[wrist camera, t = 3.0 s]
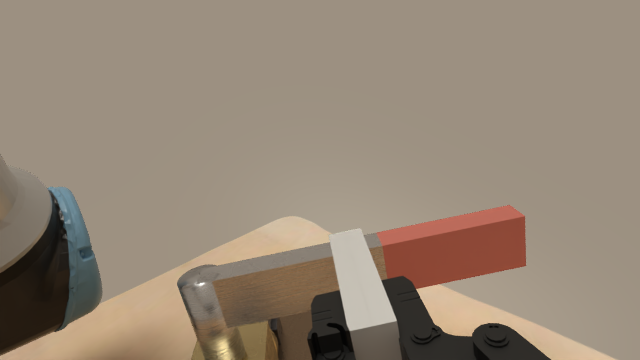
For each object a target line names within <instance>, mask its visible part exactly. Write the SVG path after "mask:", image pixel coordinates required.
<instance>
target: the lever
mask: <svg viewBox="0 0 640 360" xmlns="http://www.w3.org/2000/svg"><path fill="white" fill-rule="evenodd" d="M364 238H365V241H366V243H367V246H368V248H369V251H370V253H371V256H372V258H373V261H374V263H375V266H376V269H377V271H378V274H379V276H380V279H381V280H385V279H389V278H394V277H399V276H404V277H406V278H407V279H409V280H410V281H412V283H413V284H414V286H415V288H416V289H418V288H423V287H427V286H432V285H437V284H442V283H447V282H451V281H455V280H461V279H466V278H471V277H475V276H480V275H485V274H489V273H494V272H499V271H504V270H509V269H514V268H518V267H523V266H526V245H525V216H524V215H523V214H521V213H520V212H518V211H517V210H516V209H514V208H513V207H512V206H510V205H507V206H503V207H498V208H493V209H488V210H483V211H479V212H474V213H470V214H464V215H460V216H455V217H450V218H445V219H440V220H435V221H430V222H426V223H421V224H416V225H411V226H407V227H401V228H397V229H392V230H387V231H382V232H377V233H373V234H368V235H364ZM177 285H178V288H179V291H180V294H181V296H182V299H183V302H184V304H185V307H186V310H187V313H188V315H189V318H190V321H191V324H192V326H193V329H194V332H195V334H196V337H197V340H198V343H199V345H200V348H201V351H202V353H203V356H204V359H205V360H242V358H243V357H244V355H245V346H244V343H243V340H242V337H241V334H240V331H239V328H238V326H241V325H245V324H250V323H255V322H260V321H264V320H269V319H274V318H279V317H284V316H288V315H293V314H298V313H303V312H308V311H311V303H312V301H313V299H314V297H315V295H319V294H324V293H329V292H333V291H338V290H340V288H339V284H338V279H337V274H336V269H335V264H334V259H333V254H332V250H331V245H330V242H329V243H324V244H320V245H315V246H310V247H305V248H300V249H295V250H291V251H286V252H281V253H276V254H271V255H267V256H262V257H257V258H252V259H247V260H242V261H238V262H233V263H228V264H223V265H218V266H216V265H203V266H199V267H196V268H193V269H191V270H189V271H188V272H186V273H185V274H183V275H182V276H181V277H180V278H179V280H178V282H177Z"/></svg>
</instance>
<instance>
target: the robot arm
mask: <svg viewBox="0 0 640 360" xmlns="http://www.w3.org/2000/svg"><path fill="white" fill-rule="evenodd" d="M329 240H330V245H331V250H332V254H333V259H334V264H335V269H336V274H337V279H338V284H339V288H340V290H338V291H333V292H329V293H324V294H319V295H315V297H314V299H313V301H312V303H311V314H312V329H311V330H310V332H309V333H308V337H307V341H308V345H309V349H310V353H311V356H312V360H551V359H550V358H548V357H547V356H546V355H545V354H543V353H542V352H541V351H540V350H538V349H537V348H536V347H535V346H533V345H532V344H531V343H530V342H528V341H527V340H526V339H525V338H523V337H522V336H521V335H520V334H518V333H517V332H516V331H515V330H513V329H511V328H510V327H508V326H505V325H502V324H498V323H488V324H484V325H481V326H479V327H478V328H476V329H475V330H474V332H473V334H472V337H470V336H454V335H450V334H447V333H445V332H443V331H442V329H441V328H440V327H439V326H437V325H435V324H434V323H433V321H432V319H431V317H430V315H429V313H428V311H427V309H426V307H425V306H424V304H423V302H422V300H421V299H420V296H419V294H418V292H417V290H416V288H415V286H414V284H413V283H412V281H410V280H409V279H407V278H406V277H404V276H399V277H394V278H389V279H385V280H381V279H380V276H379V274H378V271H377V269H376V266H375V263H374V261H373V258H372V256H371V253H370V251H369V248H368V246H367V243H366V241H365V238H364V235H363V233H362V230H361V228H358V229H354V230H349V231H344V232H339V233H335V234H330V235H329ZM91 249H92V246H91V243H90V238H89V234H88V231H87V228H86V226H85V222H84V220H83V217H82V214H81V212H80V209H79V207H78V204H77V202H76V200H75V197H74V196H73V194H72V192H71V191H70V190H69V189H68V188H65V187H57V188H54V187H49V188H46V186H45V185H44V184H43V183H42V182H41V181H40V180H39V179H38V177H36V176H35V175H33V174H31V173H30V172H27V171H25V170H22V169H20V168H16V167H12V166H7V165H6V163H5V161H4V160H3V158H2V156H1V154H0V356H1V355H3V354H5V353H8V352H10V351H12V350H14V349H16V348H19V347H21V346H23V345H25V344H27V343H30V342H32V341H34V340H36V339H39V338H41V337H43V336H45V335H47V334H50V333H52V332H57V331H59V330H62V329H64V328H65V327H66V326H67V325H68V324H69V323H71V322H73V321H75V320H77V319H79V318H81V317H83V316H84V315H86V314H88V313H90V312H92V311H93V310H94V309H95V308H96V307H97V306H98V305H99V303H100V301H101V298H102V283H101V278H100V273H99V269H98V265H97V262H96V258H95V255H94V253H93V251H92V250H91Z"/></svg>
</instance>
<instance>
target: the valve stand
mask: <svg viewBox="0 0 640 360" xmlns="http://www.w3.org/2000/svg"><path fill="white" fill-rule="evenodd" d="M238 328H239V331H240V334H241V337H242V340H243V343H244V346H245V355H244V357H243V358H242V360H312V356H311V353H310V349H309V345H308V341H307V337H308V333H309V332H310V330H311V329H312V314H311V311H308V312H303V313H298V314H293V315H288V316H284V317H279V318H274V319H269V320H264V321H260V322H255V323H250V324H245V325H241V326H238ZM191 360H205V359H204V356H203V353H202V351H201V348H200V345H199V343H198V340H197V342H196V345H195V348H194V352H193V355H192V358H191Z"/></svg>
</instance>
